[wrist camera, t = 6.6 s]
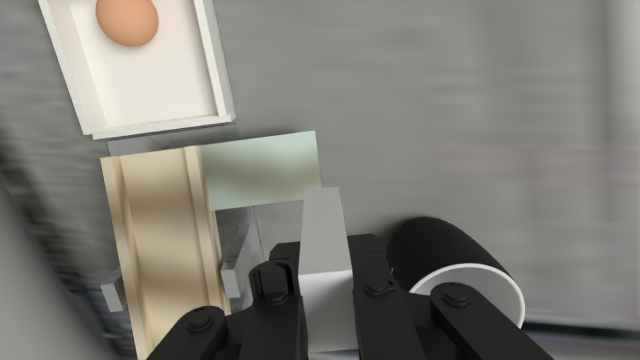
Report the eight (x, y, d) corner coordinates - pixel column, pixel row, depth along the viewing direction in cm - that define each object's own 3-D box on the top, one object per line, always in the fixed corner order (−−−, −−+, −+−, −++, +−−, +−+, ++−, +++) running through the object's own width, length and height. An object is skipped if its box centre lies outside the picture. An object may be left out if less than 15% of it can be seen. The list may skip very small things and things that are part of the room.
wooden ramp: (118, 156, 30) (85, 159, 26) (315, 131, 29) (313, 129, 25) (161, 389, 32) (136, 426, 28) (346, 369, 31) (349, 403, 27)
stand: (109, 140, 32) (47, 166, 24) (236, 123, 32) (212, 144, 24) (172, 337, 39) (138, 404, 31) (277, 325, 38) (268, 390, 31)
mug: (362, 223, 35) (380, 288, 25) (455, 190, 34) (511, 244, 24) (401, 322, 38) (429, 411, 29) (486, 294, 37) (545, 378, 28)
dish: (60, -11, 28) (14, -22, 24) (206, -32, 28) (186, -48, 24) (106, 134, 32) (74, 147, 27) (236, 117, 31) (223, 127, 27)
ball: (121, 56, 29) (112, 3, 28) (171, 49, 29) (163, -4, 28) (87, 41, 25) (77, -22, 24) (146, 32, 25) (136, -30, 24)
